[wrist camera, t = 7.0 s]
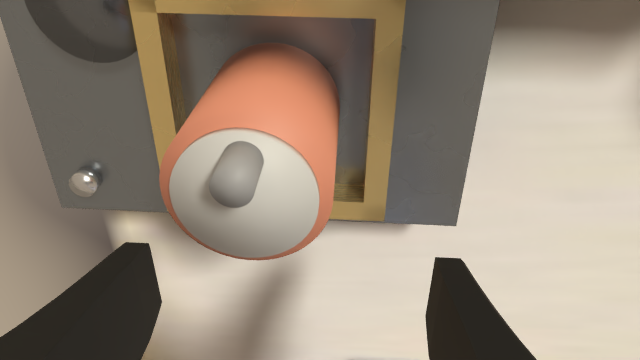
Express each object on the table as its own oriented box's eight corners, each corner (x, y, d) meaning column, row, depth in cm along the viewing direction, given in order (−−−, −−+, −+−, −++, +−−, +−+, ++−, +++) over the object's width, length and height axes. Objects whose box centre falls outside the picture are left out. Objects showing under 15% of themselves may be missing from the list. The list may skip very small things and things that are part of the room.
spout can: (334, 167, 19) (323, 309, 13) (215, 156, 19) (148, 293, 13) (345, 48, 16) (338, 156, 10) (208, 37, 16) (122, 137, 10)
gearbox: (444, 184, 22) (461, 245, 19) (94, 169, 23) (46, 225, 20) (499, -133, 16) (539, -131, 12) (11, -139, 17) (-82, -140, 13)
